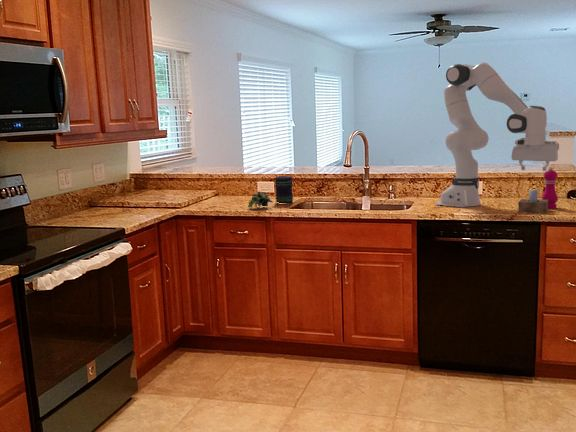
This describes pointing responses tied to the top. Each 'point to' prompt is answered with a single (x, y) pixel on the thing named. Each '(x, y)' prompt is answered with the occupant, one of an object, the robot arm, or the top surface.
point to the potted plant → (259, 199)
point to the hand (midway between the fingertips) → (533, 170)
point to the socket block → (533, 206)
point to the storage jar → (284, 189)
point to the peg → (533, 195)
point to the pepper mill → (550, 188)
